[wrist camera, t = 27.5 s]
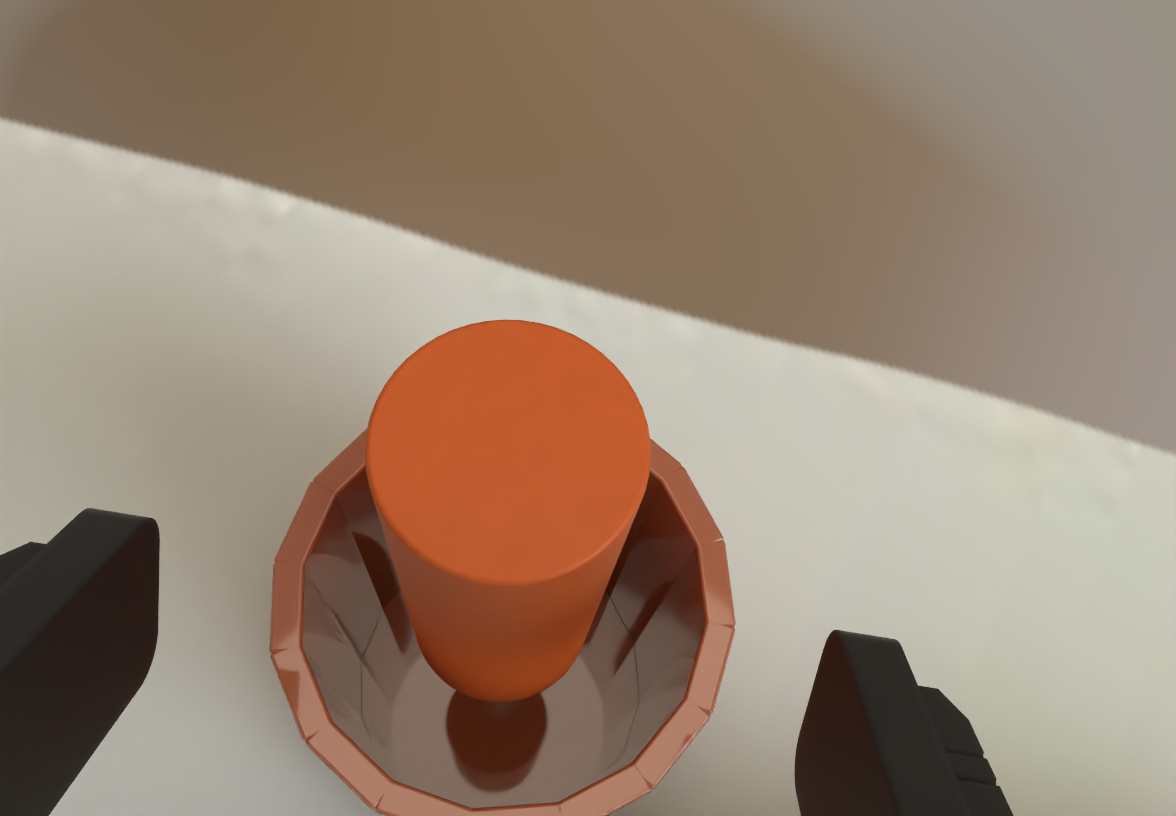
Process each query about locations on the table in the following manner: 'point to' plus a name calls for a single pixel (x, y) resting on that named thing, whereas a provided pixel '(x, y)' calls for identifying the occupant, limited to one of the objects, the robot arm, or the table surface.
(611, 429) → the orange screwdriver
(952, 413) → the table surface
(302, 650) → the pen cup
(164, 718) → the table surface
